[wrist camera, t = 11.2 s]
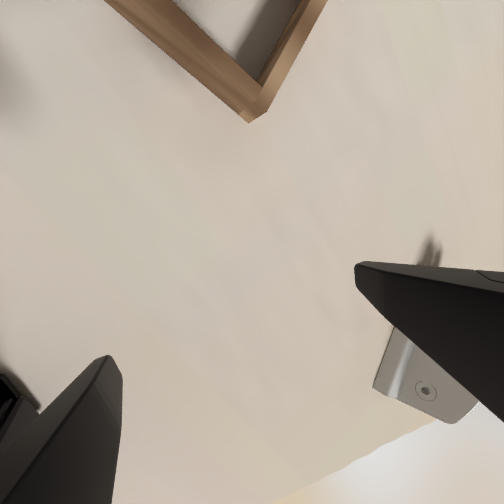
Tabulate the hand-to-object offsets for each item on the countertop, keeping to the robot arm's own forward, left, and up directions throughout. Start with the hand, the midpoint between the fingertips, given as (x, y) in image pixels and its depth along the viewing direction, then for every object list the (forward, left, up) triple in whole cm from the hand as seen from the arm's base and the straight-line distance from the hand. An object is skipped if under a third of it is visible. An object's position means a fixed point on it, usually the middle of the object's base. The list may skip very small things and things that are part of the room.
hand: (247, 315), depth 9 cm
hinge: (+24, -22, -12) cm, 35 cm away
